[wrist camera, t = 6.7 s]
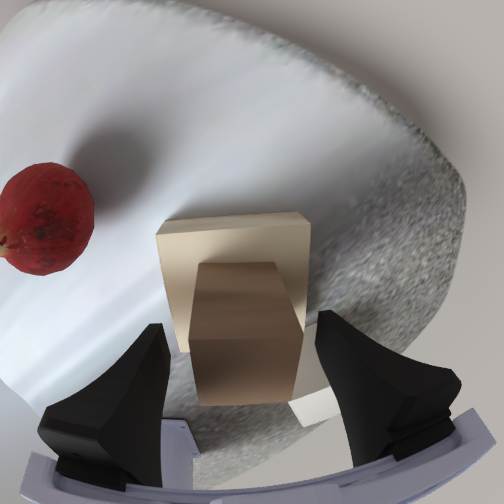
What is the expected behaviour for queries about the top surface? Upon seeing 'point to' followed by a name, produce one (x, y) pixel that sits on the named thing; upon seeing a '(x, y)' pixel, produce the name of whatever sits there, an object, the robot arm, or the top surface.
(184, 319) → the beech slab
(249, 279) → the walnut block
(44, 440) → the robot arm
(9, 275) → the top surface
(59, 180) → the onion
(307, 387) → the offwhite block
